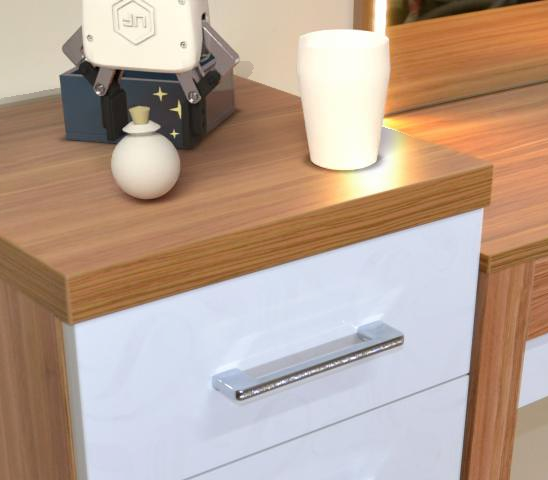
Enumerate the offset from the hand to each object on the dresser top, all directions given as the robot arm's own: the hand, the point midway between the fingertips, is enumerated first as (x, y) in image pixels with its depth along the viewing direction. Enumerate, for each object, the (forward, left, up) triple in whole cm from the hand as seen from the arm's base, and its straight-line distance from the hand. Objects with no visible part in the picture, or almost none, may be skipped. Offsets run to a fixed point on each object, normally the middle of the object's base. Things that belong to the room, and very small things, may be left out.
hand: (155, 138), depth 101 cm
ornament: (0, 0, -6) cm, 6 cm away
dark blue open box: (+22, +10, -6) cm, 25 cm away
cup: (+15, -13, -6) cm, 21 cm away
